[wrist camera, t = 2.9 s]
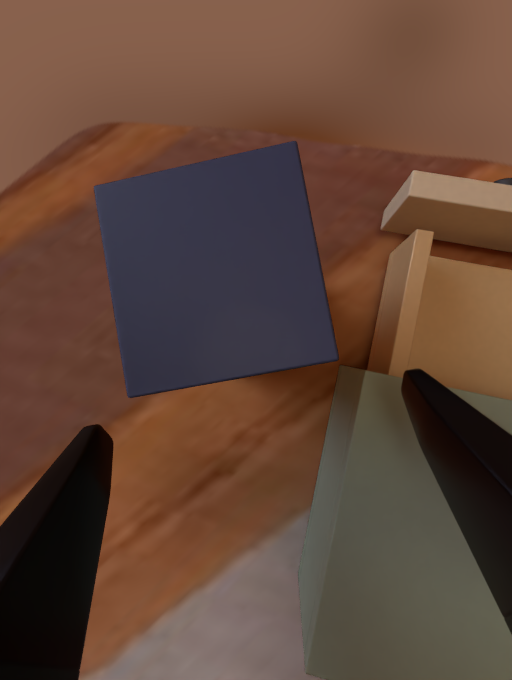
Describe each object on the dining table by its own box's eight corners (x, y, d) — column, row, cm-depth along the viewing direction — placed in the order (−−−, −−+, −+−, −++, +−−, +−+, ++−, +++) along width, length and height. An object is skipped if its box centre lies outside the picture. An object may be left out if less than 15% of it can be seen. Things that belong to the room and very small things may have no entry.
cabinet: (339, 364, 20) (365, 370, 14) (542, 406, 19) (665, 431, 13) (297, 574, 20) (304, 674, 14) (501, 627, 19) (607, 759, 13)
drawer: (388, 189, 19) (418, 143, 15) (578, 220, 18) (668, 180, 14) (344, 407, 19) (363, 423, 15) (536, 448, 18) (615, 478, 14)
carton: (287, 274, 20) (296, 138, 7) (302, 355, 20) (340, 360, 7) (210, 289, 21) (92, 185, 8) (224, 369, 20) (126, 398, 8)
